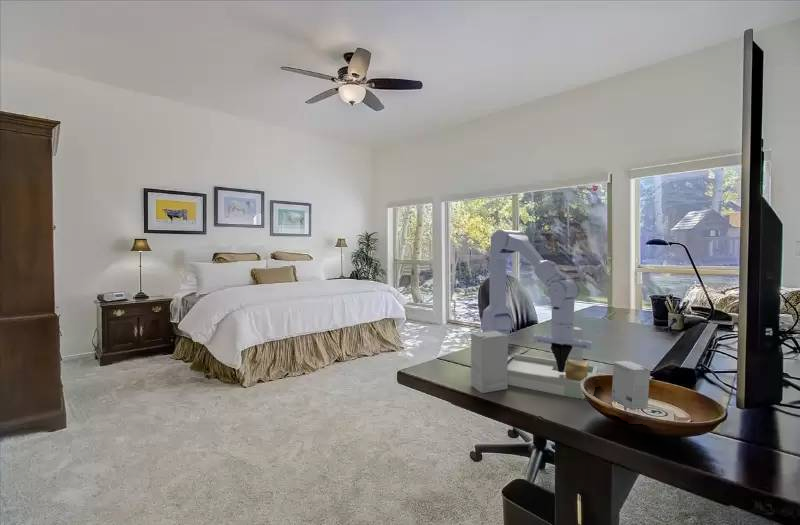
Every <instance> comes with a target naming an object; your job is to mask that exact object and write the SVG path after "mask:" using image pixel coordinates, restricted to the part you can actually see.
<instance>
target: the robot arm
mask: <svg viewBox="0 0 800 525" xmlns="http://www.w3.org/2000/svg"><path fill="white" fill-rule="evenodd" d="M516 252H518V253H519V254H520V255H521V256H522V257H523V258H524V259H525V260H527V262H528V263H529V264H530V265H532V267H534V269H533V271H534V272H533V273H534V275H535V276H536V277H537V278H538V280H540V282H541V283H542V284H543V285H544V286H545V287H546V288H547V289H546V290H547V291H546V293H547V295H548V297H549V298H550V299H549V300H550V305H551V319H550V320H551V322H550V323H551V324H550V325H551V326H550V335H547V334H546V335H545V334H534V336H533V337H534V338H533V342H534V343H536V344H538V343H542V344H548V345H551V346H550V349H551V352H552V354H553V356H554V358H555V359H554V360H556V362H557V366H558V372H564V368H565V363H566V360H567V358H568V355H569V353H570V351H571V350H572V348H573V347H577V348H583V349H585V350H587V351H588V350H589V351H591V350H592V344H593V343H592V341H591V340H584V339H583V340H580V339H575V338H573V335H574V327H575V326H574V325H575V299H577V298H578V296H579V293H580V286H579V284H578V283H577V281H576V280H574V279H572V278H568V277H567V275H566V274H564V273H562V271H561V270H560V269H559V268H558V267H557V266H556V262H555V261H551V260H547V259H545V260H544V258H543V257H542V256H541V254H540V253H539V252H538V251H537V249H536V248H535V247H534V246H533V244H532V243H531V242H530V241H529V236H528V235H526V233H525V232H524V231H522V230H506V229H497V230H495V232H493V234H491V236H490V250H489V304H488V306H487V307H485V309H483V311H482V317H481V320H480V326H481V329H482V332H488V331H498V332H500V333H503V334H506V335H508V336H509V334H511V333H510V331H512V330H513V328H514V319H513V315H512V309H510V308H509V307H508V305H507V259H508V258H509V257H510V256H511V255H512V254H514V253H516ZM511 359H512V357H511V356H508V362H509V361H510V360H511Z"/></svg>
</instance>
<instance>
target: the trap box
mask: <svg viewBox="0 0 800 525" xmlns="http://www.w3.org/2000/svg"><path fill="white" fill-rule="evenodd" d="M566 363H567V362H566ZM566 363H565V368H564V372H558V366H557V362H556V359H551V358H546V357H540V356H534V355H533V356H531V355H525V354H521V353H520V354H519V353H514V354H513V359H512V360H511V361H510V362H509V363H508V381H507V386H513V387H517V388H518V387H519V388H523V389H530V390H534V391H539V392H545V393H547V394H548V393H549V394H553V395H554V394H555V395H560V396H565V397H569V398H575V397H576V398H575V399H579V398H582V399H581V400H584V397H583V395H582V393H581V391H580V388H579V384H580V383H581V382H580V381H578V380H573V379H567V378H566ZM598 371H599V366H597V365H591V364H588V376H590V375H591V376H592V375H596V374H598V373H599V372H598Z"/></svg>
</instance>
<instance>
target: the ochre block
mask: <svg viewBox="0 0 800 525" xmlns="http://www.w3.org/2000/svg"><path fill="white" fill-rule="evenodd" d="M588 365H589V362H588V361H584V360H583V361H577V360H570V359H568V361H567V363H566V378H567V379H573V380H578V381H581V380H583V379H584V378H586V377H587V376H588Z"/></svg>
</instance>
